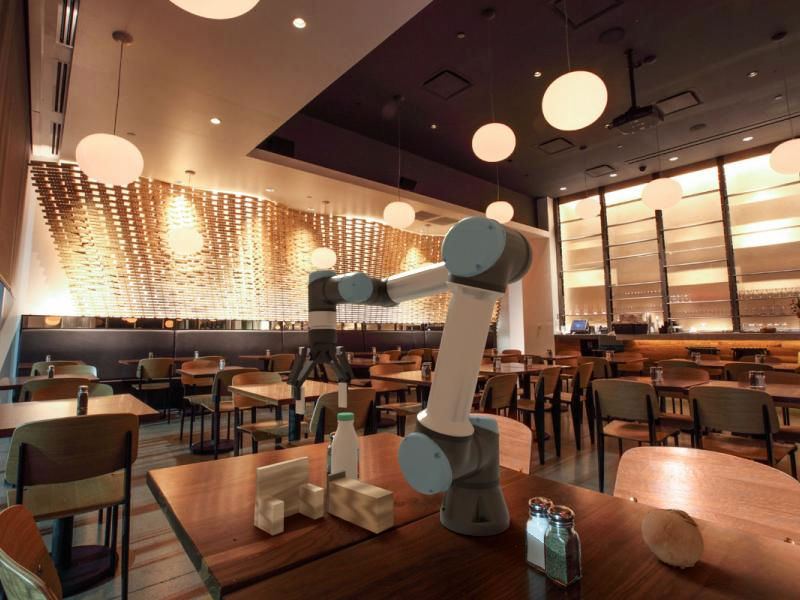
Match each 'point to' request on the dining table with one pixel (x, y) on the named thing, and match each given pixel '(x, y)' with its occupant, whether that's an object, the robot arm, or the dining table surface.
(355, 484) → the rectangular wooden block
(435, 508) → the dining table surface
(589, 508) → the dining table surface
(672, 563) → the beige rounded lump
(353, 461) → the milk bottle
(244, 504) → the dining table surface
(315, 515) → the upright wooden board
